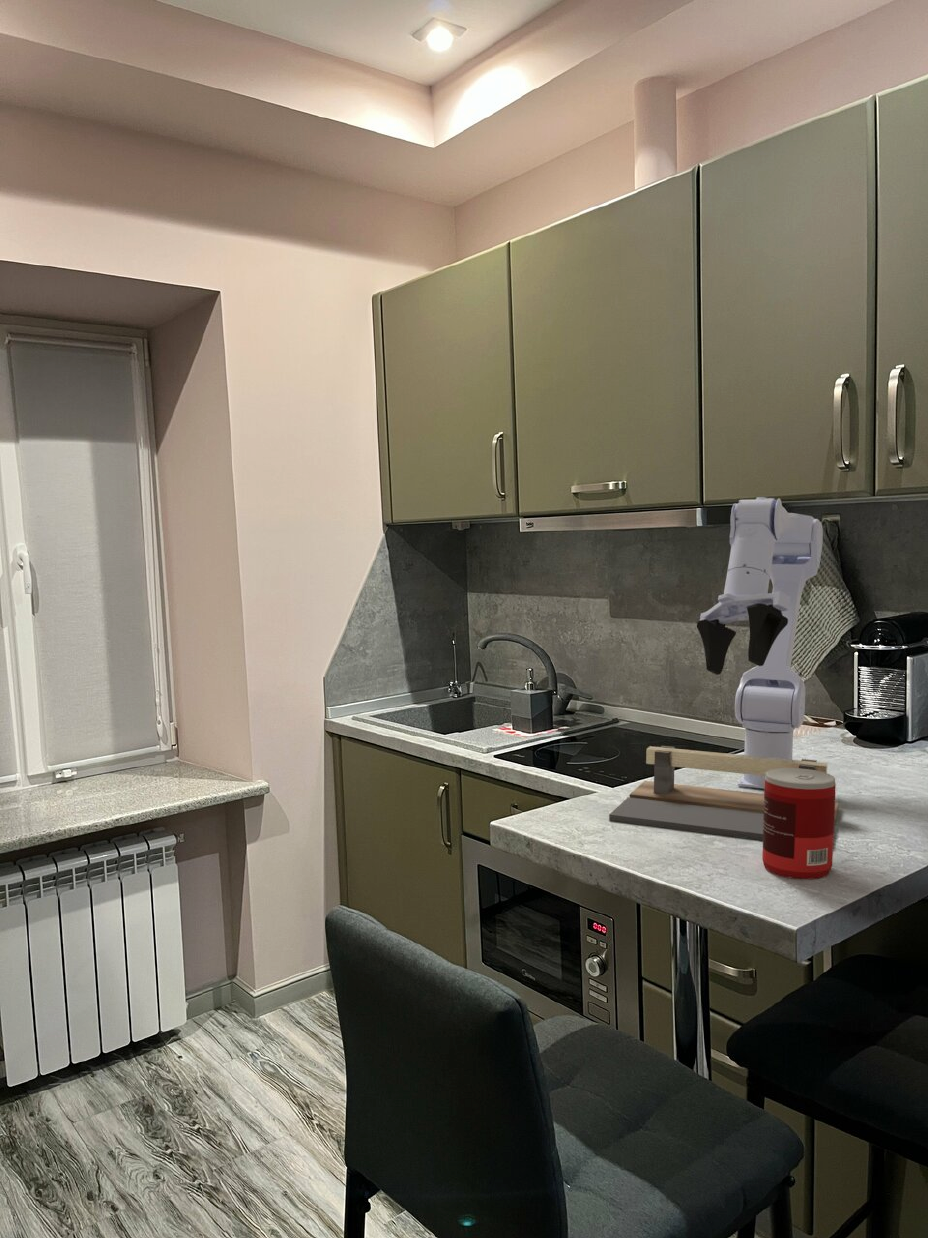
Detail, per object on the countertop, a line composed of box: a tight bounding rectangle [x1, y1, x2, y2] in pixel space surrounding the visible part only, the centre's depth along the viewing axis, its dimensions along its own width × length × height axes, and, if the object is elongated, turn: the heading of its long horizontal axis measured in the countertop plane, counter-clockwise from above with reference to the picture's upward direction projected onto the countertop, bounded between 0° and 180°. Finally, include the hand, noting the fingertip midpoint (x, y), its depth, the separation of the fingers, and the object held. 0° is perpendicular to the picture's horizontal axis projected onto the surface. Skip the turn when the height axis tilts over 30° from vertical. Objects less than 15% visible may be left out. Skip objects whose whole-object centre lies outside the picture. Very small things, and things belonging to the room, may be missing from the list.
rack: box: [629, 745, 840, 827], centre depth 138 cm, size 9×28×7 cm, turn 66°
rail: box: [645, 745, 829, 776], centre depth 138 cm, size 2×25×2 cm, turn 66°
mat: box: [608, 796, 764, 841], centre depth 129 cm, size 10×28×1 cm, turn 66°
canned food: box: [761, 768, 837, 880], centre depth 110 cm, size 8×8×11 cm
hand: (734, 667), depth 127 cm, fingers open, 7 cm apart
